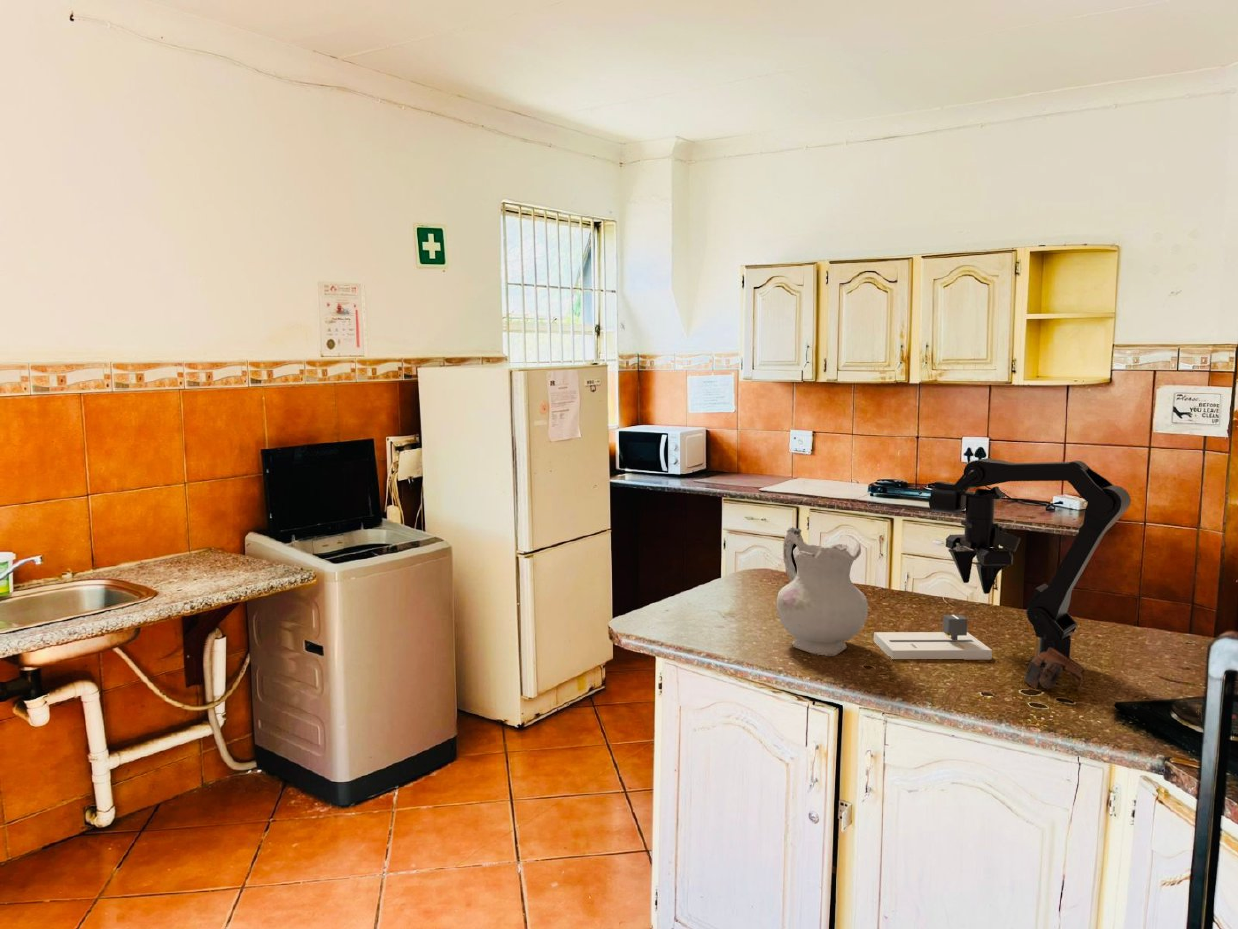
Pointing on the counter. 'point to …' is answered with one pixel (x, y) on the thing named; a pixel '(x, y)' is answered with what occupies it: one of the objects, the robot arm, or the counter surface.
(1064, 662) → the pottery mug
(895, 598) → the counter surface
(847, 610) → the ceramic pitcher
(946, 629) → the fader knob
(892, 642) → the fader panel
